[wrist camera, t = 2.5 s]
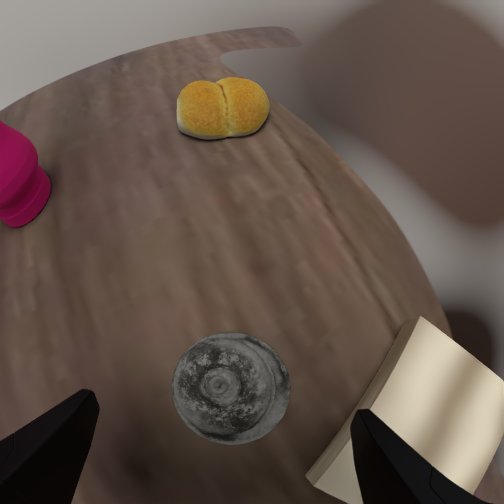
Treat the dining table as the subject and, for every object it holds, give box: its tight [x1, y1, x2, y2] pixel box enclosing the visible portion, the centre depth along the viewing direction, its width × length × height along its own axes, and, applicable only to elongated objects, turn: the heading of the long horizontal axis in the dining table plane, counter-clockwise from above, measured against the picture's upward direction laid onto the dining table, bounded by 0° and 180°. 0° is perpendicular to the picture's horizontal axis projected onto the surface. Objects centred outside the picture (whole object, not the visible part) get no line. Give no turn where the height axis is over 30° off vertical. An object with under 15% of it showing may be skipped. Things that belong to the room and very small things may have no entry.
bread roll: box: [177, 77, 269, 140], centre depth 26 cm, size 8×9×4 cm
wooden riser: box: [305, 316, 504, 504], centre depth 14 cm, size 12×12×2 cm
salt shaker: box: [172, 332, 291, 445], centre depth 12 cm, size 6×6×12 cm
